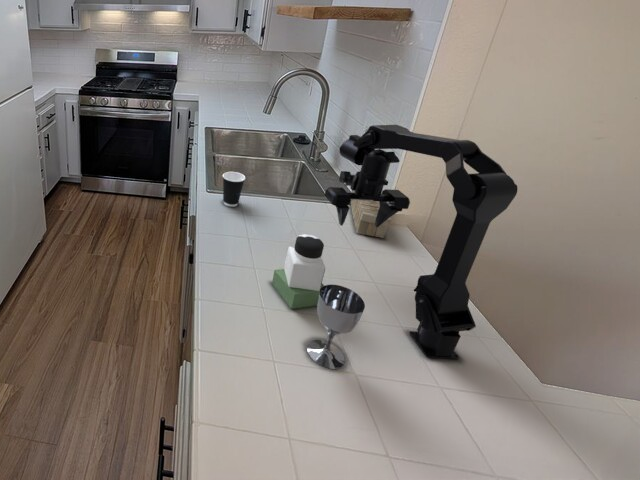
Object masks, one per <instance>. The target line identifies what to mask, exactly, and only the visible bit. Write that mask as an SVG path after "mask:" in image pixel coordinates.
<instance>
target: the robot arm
mask: <svg viewBox="0 0 640 480" xmlns="http://www.w3.org/2000/svg"><path fill="white" fill-rule="evenodd" d="M397 149H398V150H402V151H406V152H407V151H408V152H411V153H417V154H421V155H425V156H430V157H434V158H435V157H436V158H439V159H442V161H443V162H444V163H445V177H446V179H447V180H448V181H449V183H450V184H451V187H452V188H453V192H452V199H451V200H452V203H453V206H454V209H455V212H456V215H455V217H454V220H453V223H452V226H451V228H450V231H449V233H448V236H447V239H446V242H445V244H444V247H443V249H442V252H441V255H440V258H439V260H438V263H437V266H436V269H435V271H434V273H432V274H424V275H423V274H422V275H419V277H418V279H417V283H416V284H417V285H416V287H414V289H413V292H415V294H414V301H415V319H416V321H418V322H419V324H418V325H417V328H416V331H414V330H410V331H409V333H408V334H409V335H410V337H411V339H412V340H413V342H414V343H415V344H416V345H417V346H418V348H419V349H420V350H421V352H422V354H424V356H425V357H427V358H433V359H445V360H447V359H448V360H459V359H460V356H459V355H458V353H457V352H456V351H455V350H456V347H457V345H458V343H459V341H460V339H461V335H460V332H464V331H465V332H466V331H467V332H469V331H472V330H473V329H475V328H476V327H477V325H476V322H475V320H474V318H473V315H472V313H471V309H470V308H469V302H470V297H471V295H470V291H469V289H468V286H467V283H466V282H467V280H468V277H469V275H470V272H471V271H472V267H473V265H474V263H475V261H476V258H477V256H478V253H479V251H480V247H481V246H482V244H483V241H484V239H485V236H486V234H487V232H488V229H489V226H490V224H491V223H492V221H494V220H495V219H496V218H497V217H499V215H501V214H502V213H503V212H505V211H506V210H507V209H508V208H509V206H510V204H511V203H512V202H513V201H514V199H515V198H516V196H517V193H518V185H517V184H516V183H515V180H514V179H513V178H512V177H511V176H510V175H508V174H507V173H506V171H505V170H504V168H503V167H502V166H501V164H500V163H498V162H497V161H495V160H494V159H493V158H491V157H490V156H489V155H487V154H485V153H484V152H483V151H482V150H481V148H480V147H479V145H478V144H477V143H476V142H474V141H472V140H469V139H457V138H450V137H444V136H436V135H430V134H424V133H419V132H418V133H417V132H413V131H410V130H409V128H407V127H404V126H402V125H398V124H375V125H370V126H368V128H367V129H366V131H365V132H364V133H363V134H362V135H360V136H359V135H358V134H350V135H349V136H348V139H346V140H344V142H343V143H342V144H341V145H340V146H339V151H338V152H339V155H340V156H341V157H342V158H344V159H346V160H348V161H349V162H351V163H353V164H355V165H357V166H361V167H360V171H359V170H358V171H356V173H355V174H352V173H351V171H346V170H340V172H339V173H340V174H339V175H338V176H339V177H338V181H339V183H340V184H341V183H342V184H345V185H344V186H346V187H348V186H349V187H350V190H351V191H352V190H354V191H355V193H351V192H348V191H347V190H346V189H344V187H339V186H337V187H336V186H329V187H327V188H326V189H325V192H324V196H325V198H326V199H327V201H328V202H329V203H330V204H331V205H332V206H334V207H335V209H336V213H337V218H338V225H339V226H343V225H344V224H345V222H346V219H347V216H348V214H349V211H350V206H349V205H351V200H357V201H379V202H380V208H379V210H378V214H377V217H376V220H375V226H376V227H379V226H380V225H381V224H383V223H384V222H385V221H386V220H387V219H389V218H392V217H393V216H394V215H396V214H397V213H398V212H402V211H403V210H408V209H409V207H410V205H411V199H410V198H409V197H408V196H407V195H405V194H404V193H403V192H402V191H401V190H399V189H388V188H387V189H386V188H385V189H384V186H388V184H389V181H388V180H387V176H388V173H389V169H390V166H391V164H398V163H400V159H399V157H398V156H397V155H396V153H395V151H386V150H397ZM465 164H466V165H468V166H469V167H470V168H471V169H473V170H474V171H475V172H477V173H469V172H468V171H467V170H466V168H465Z"/></svg>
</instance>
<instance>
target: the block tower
mask: <svg viewBox="0 0 640 480" xmlns="http://www.w3.org/2000/svg"><path fill="white" fill-rule="evenodd" d="M350 193H355V191H354V190H352V189H351V191H350ZM350 206H351V207H350V208H351V213H352V218H353V223H354V228H355V232H356V234H359V235H364V236H365V235H366V236H370V237H377V238H381V239H384V238H385V236H386V232H387V228H388V227H390V224H391V222H392V217H390V218H389V219H387V220H386V221H385V222H384V223H383V224H381V225H380V226H379V227H376V226H375V220H376V217H377V214H378V210H379V208H380V202H379V201H357V200H351V201H350Z"/></svg>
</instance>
